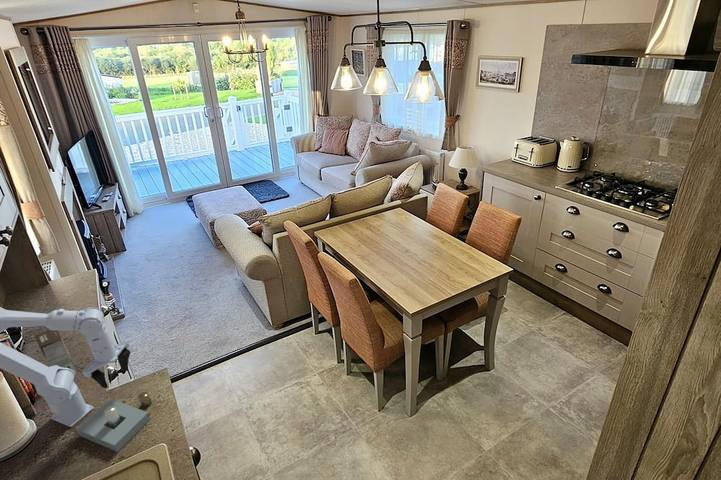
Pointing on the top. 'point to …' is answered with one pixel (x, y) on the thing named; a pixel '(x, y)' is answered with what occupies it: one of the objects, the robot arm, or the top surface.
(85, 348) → the top surface
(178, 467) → the top surface
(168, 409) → the top surface
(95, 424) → the hole plate
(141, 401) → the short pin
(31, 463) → the top surface
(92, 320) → the robot arm
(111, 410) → the long pin
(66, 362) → the coffee box
